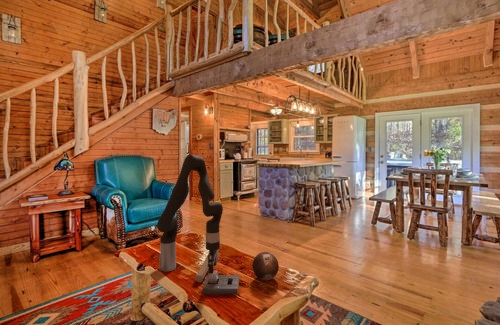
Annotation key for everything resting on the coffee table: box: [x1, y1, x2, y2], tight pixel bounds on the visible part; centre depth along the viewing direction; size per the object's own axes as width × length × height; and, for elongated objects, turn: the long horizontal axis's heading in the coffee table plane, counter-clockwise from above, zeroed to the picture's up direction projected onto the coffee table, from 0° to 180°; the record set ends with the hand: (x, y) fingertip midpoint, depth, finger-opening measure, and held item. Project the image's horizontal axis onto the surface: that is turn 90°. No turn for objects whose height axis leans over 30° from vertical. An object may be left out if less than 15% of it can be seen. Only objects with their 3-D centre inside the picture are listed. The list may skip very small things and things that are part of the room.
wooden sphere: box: [251, 251, 280, 281], centre depth 144 cm, size 15×15×15 cm
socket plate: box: [202, 274, 240, 295], centre depth 135 cm, size 18×14×3 cm
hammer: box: [194, 249, 220, 283], centre depth 154 cm, size 16×5×30 cm
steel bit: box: [208, 270, 219, 284], centre depth 135 cm, size 4×4×8 cm
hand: (212, 269), depth 135 cm, fingers open, 8 cm apart
